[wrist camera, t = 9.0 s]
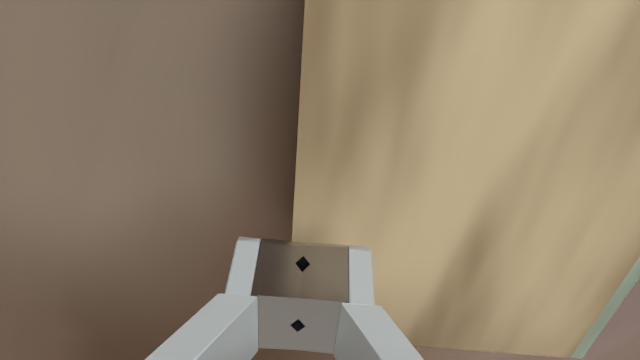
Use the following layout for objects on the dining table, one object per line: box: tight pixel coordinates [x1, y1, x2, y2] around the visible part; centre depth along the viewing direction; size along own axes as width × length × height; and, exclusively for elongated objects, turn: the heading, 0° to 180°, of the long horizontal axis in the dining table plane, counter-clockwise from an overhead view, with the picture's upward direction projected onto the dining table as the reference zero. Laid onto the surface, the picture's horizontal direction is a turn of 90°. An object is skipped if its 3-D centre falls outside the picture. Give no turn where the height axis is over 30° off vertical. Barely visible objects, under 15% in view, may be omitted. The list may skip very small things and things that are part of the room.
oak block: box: [292, 0, 640, 359], centre depth 15 cm, size 5×12×10 cm
